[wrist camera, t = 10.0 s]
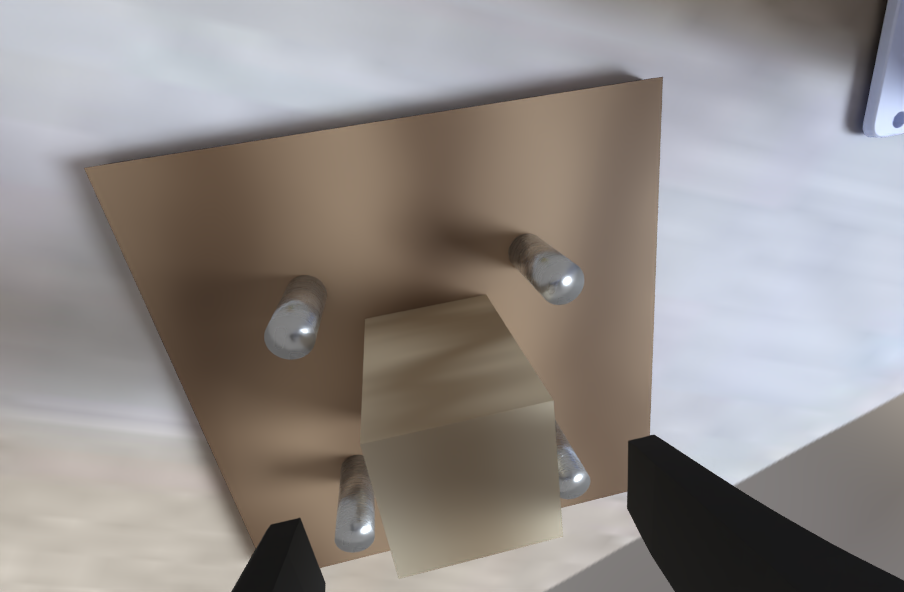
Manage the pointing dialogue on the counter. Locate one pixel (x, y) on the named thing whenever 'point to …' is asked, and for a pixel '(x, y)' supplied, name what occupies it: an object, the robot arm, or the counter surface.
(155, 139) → the counter surface
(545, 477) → the block
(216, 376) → the peg board
